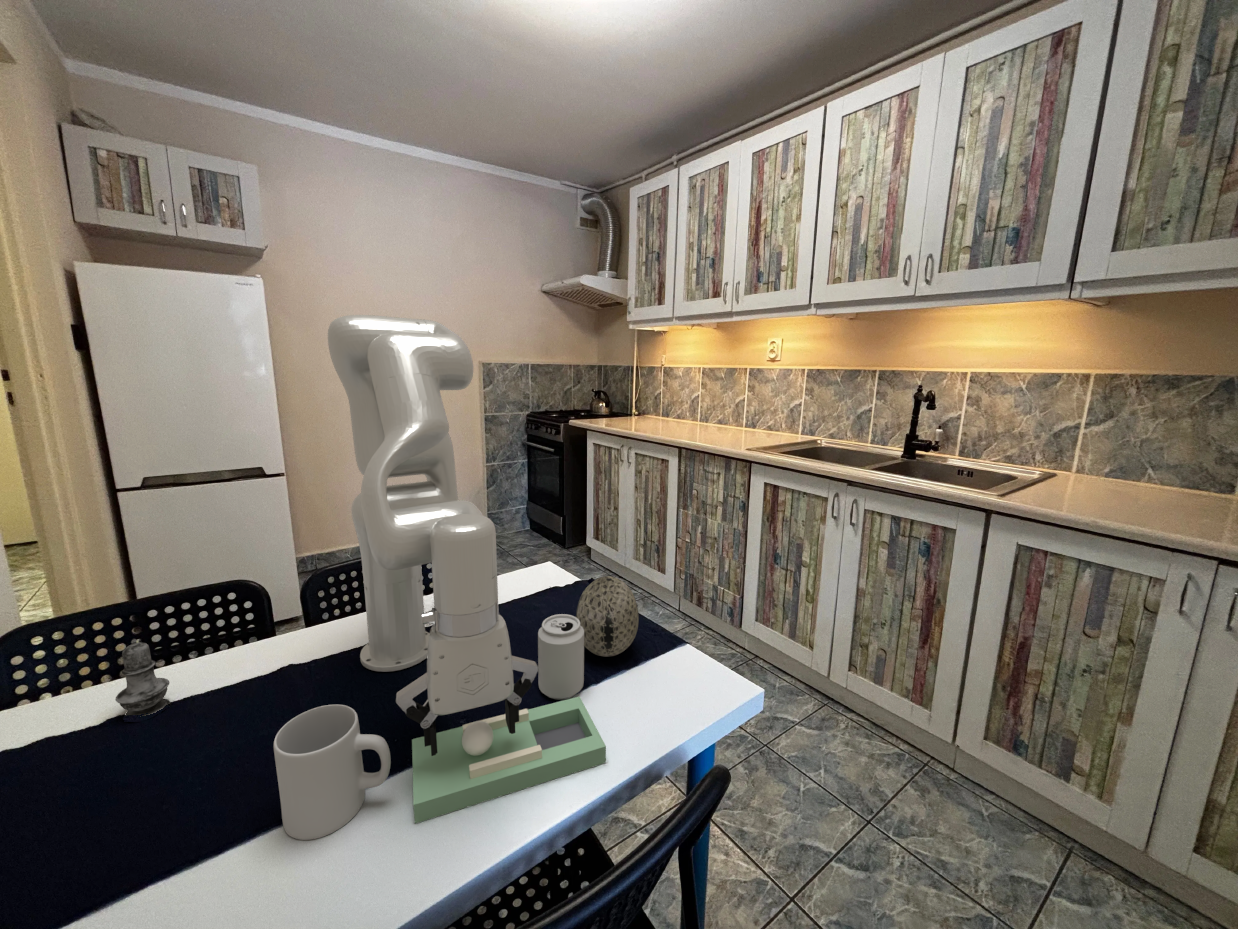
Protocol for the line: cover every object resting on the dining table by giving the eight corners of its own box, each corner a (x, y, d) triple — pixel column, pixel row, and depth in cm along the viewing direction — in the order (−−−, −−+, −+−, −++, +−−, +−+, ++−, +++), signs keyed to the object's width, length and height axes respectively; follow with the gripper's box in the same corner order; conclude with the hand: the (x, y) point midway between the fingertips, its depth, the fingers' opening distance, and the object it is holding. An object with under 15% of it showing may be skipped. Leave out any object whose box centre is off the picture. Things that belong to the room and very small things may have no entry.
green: (413, 756, 67) (411, 731, 66) (579, 711, 76) (579, 689, 76) (414, 824, 57) (412, 796, 56) (605, 762, 67) (606, 738, 66)
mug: (267, 845, 54) (255, 759, 52) (305, 781, 63) (296, 705, 60) (381, 834, 56) (374, 750, 54) (403, 773, 64) (398, 699, 62)
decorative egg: (635, 635, 98) (637, 565, 96) (639, 671, 87) (642, 592, 84) (577, 635, 98) (577, 565, 95) (573, 671, 87) (574, 592, 84)
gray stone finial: (180, 705, 76) (168, 634, 74) (131, 729, 71) (116, 654, 68) (161, 693, 78) (148, 625, 76) (111, 717, 73) (96, 643, 71)
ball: (460, 745, 66) (459, 718, 65) (491, 736, 67) (490, 711, 67) (464, 767, 62) (462, 739, 61) (496, 757, 64) (495, 730, 63)
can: (576, 706, 78) (576, 637, 75) (531, 699, 79) (530, 631, 77) (588, 677, 85) (589, 614, 82) (547, 671, 86) (547, 608, 84)
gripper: (389, 644, 54) (400, 779, 57) (543, 615, 61) (545, 738, 64) (391, 614, 61) (400, 736, 64) (529, 591, 67) (532, 702, 70)
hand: (473, 737), depth 64 cm, fingers open, 9 cm apart
